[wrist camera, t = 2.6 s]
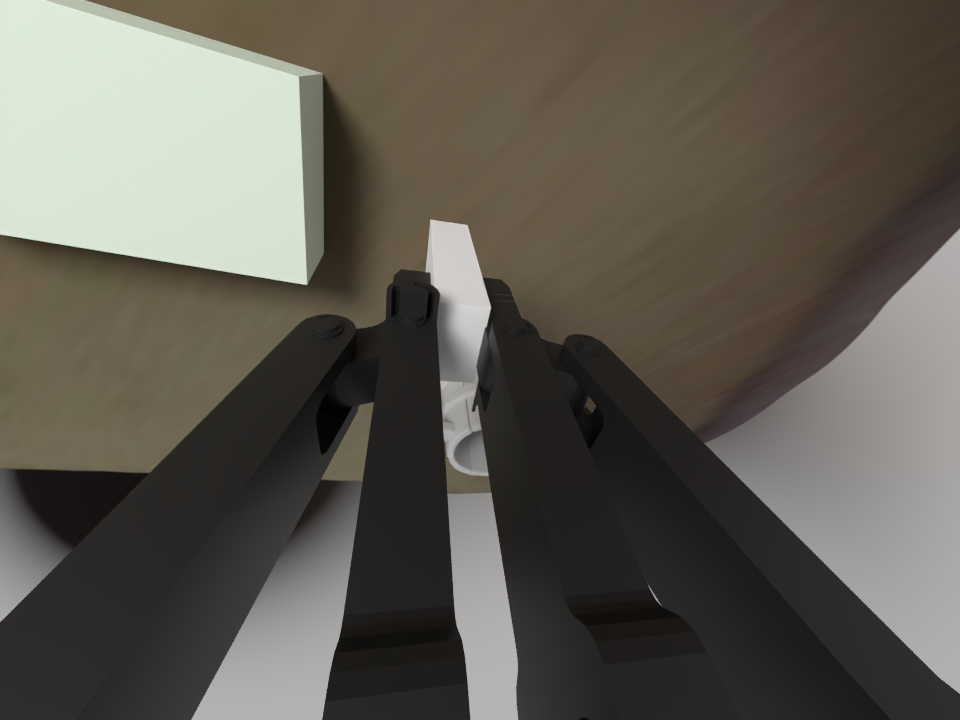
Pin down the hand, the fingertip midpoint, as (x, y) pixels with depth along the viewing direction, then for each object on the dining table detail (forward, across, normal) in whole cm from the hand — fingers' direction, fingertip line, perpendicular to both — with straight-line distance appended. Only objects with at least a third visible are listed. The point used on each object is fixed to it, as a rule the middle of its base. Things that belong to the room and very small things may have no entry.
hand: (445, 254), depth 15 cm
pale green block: (+11, -17, +1) cm, 20 cm away
